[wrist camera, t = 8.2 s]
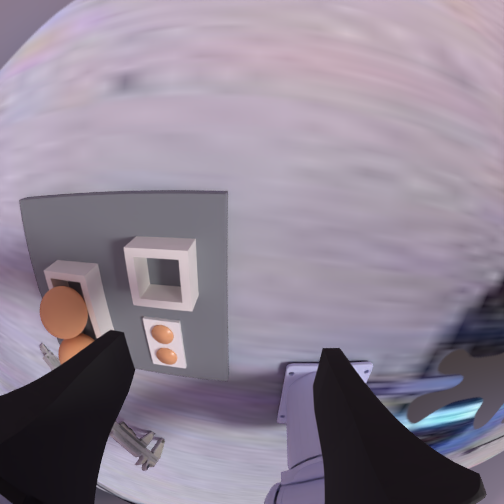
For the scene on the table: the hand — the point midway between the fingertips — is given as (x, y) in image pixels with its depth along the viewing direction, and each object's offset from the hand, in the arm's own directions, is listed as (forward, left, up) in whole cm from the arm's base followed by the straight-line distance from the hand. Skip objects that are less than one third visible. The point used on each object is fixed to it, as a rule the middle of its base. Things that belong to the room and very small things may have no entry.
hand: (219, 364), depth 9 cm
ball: (-4, +13, -6) cm, 15 cm away
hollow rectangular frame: (-6, +13, -9) cm, 17 cm away
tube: (-1, +5, -9) cm, 11 cm away
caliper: (-21, +17, -11) cm, 29 cm away
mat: (-4, +10, -10) cm, 15 cm away
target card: (-8, +6, -9) cm, 14 cm away
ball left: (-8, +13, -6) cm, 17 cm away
